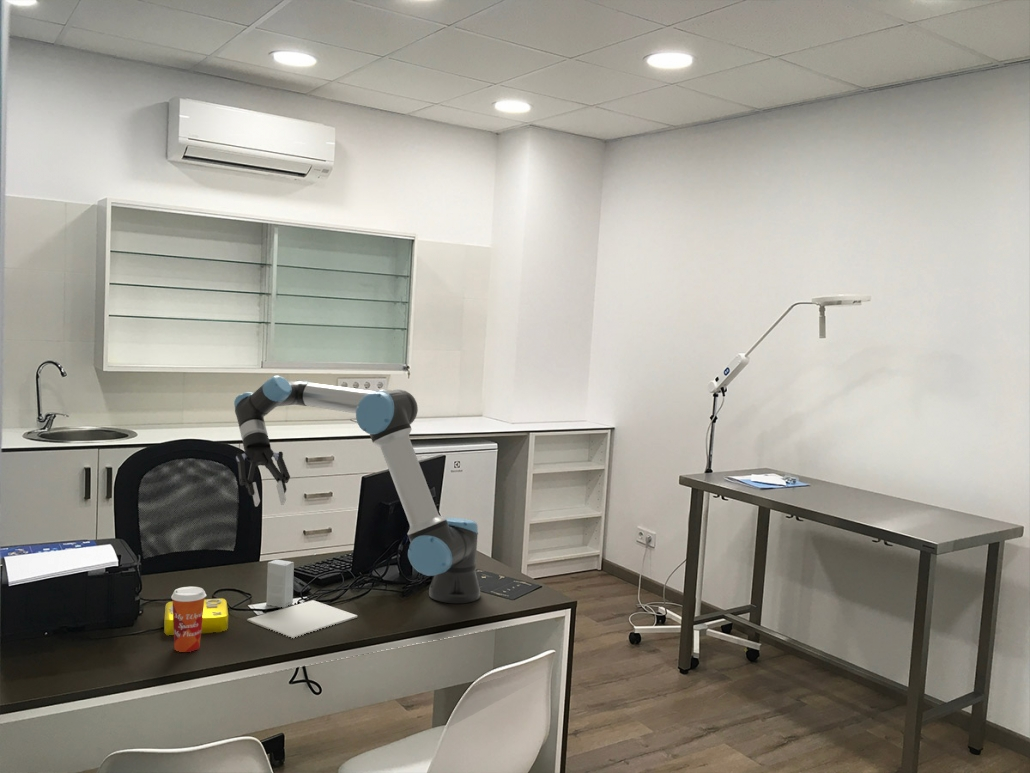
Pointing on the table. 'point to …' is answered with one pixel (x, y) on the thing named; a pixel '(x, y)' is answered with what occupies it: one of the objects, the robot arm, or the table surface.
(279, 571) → the skincare box
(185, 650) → the paper cup
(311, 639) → the table surface
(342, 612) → the mat
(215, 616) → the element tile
